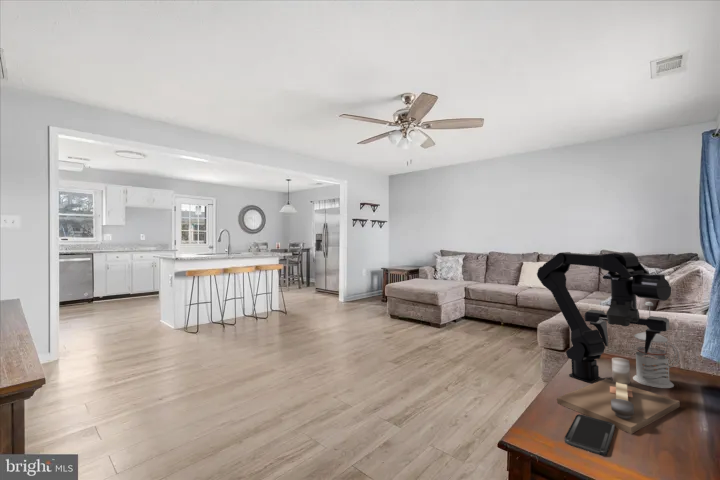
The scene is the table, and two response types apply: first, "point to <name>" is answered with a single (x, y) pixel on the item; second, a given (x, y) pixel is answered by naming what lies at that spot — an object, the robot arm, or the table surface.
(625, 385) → the grey-ended beige bar
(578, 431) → the phone
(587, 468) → the table surface
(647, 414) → the board
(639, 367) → the french press
